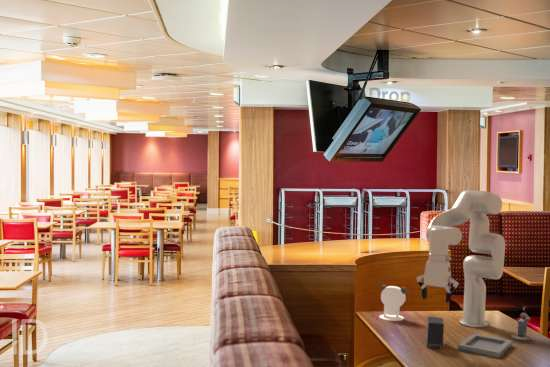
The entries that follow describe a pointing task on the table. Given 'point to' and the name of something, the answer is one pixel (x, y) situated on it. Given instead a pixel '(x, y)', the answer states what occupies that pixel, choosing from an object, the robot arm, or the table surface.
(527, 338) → the figurine
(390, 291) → the panda figurine
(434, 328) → the small box
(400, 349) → the table surface
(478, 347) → the tray
